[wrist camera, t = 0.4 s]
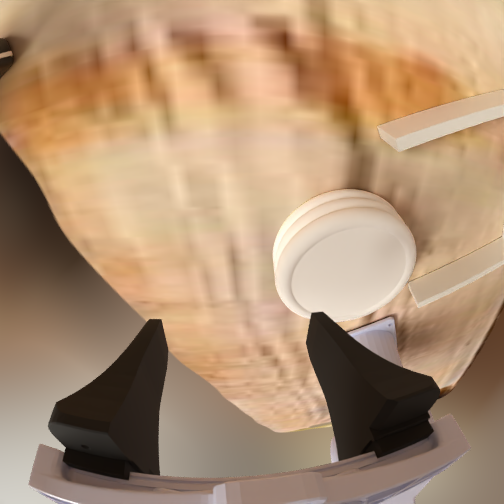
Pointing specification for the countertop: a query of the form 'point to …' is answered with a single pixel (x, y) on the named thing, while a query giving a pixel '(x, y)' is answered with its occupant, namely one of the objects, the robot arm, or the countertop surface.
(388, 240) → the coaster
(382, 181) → the countertop surface
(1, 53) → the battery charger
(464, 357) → the countertop surface
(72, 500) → the robot arm
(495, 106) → the sorting bin
